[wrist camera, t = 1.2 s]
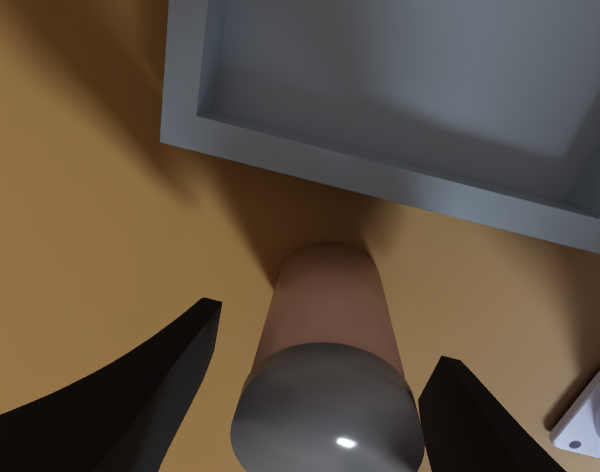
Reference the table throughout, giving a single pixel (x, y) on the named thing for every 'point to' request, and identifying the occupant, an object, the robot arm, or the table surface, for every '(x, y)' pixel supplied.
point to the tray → (402, 102)
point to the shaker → (327, 374)
